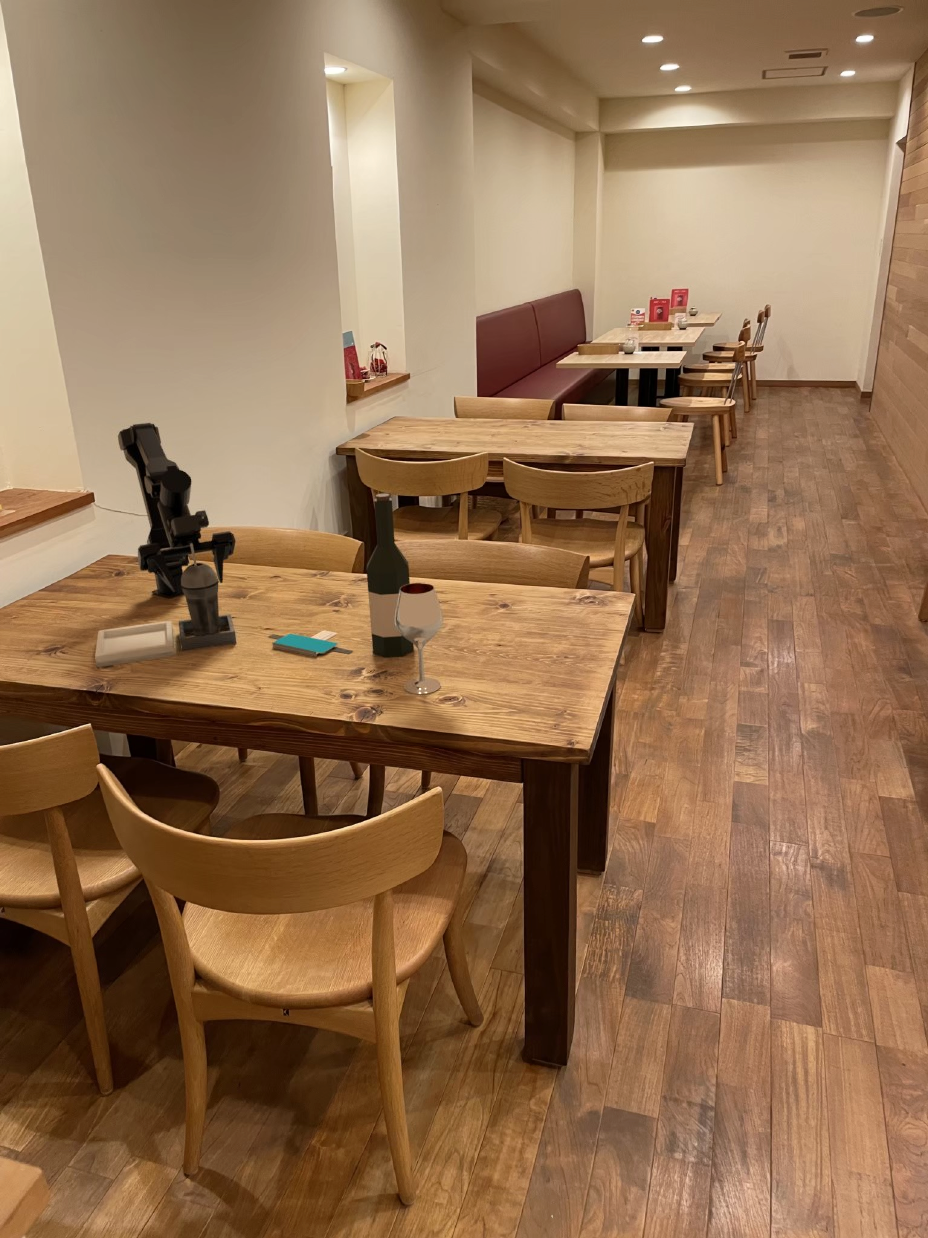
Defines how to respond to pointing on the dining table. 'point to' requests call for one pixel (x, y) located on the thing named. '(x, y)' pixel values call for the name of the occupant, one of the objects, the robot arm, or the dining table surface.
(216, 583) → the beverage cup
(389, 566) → the wine bottle
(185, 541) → the robot arm
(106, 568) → the dining table surface
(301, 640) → the teal flat block
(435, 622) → the wineglass
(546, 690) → the dining table surface
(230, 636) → the grey-brown square frame
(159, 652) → the cream white tray
